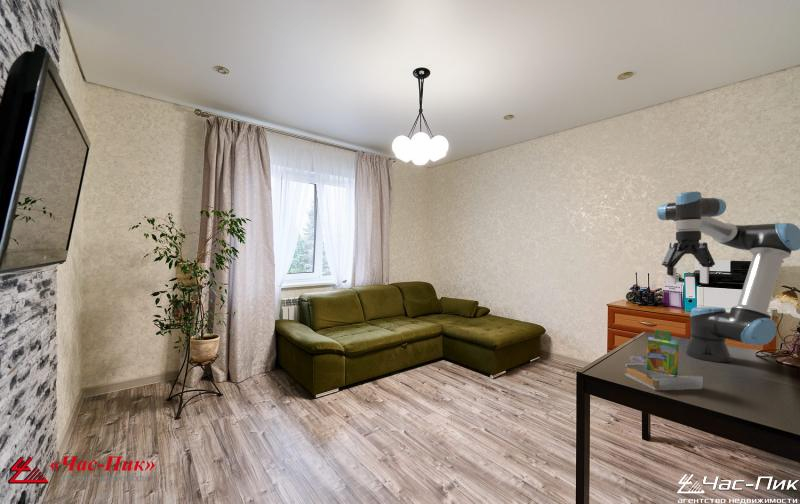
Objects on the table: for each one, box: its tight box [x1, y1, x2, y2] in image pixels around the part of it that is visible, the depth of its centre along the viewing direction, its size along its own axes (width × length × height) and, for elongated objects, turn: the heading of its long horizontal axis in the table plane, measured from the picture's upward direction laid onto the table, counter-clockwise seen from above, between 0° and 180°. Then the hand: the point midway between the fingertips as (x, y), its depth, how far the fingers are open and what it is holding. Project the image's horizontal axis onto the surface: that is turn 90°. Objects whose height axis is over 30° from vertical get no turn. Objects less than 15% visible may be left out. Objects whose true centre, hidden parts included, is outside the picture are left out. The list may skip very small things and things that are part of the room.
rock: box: [629, 354, 647, 364], centre depth 134 cm, size 8×11×5 cm
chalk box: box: [646, 329, 680, 376], centre depth 120 cm, size 9×9×15 cm
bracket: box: [624, 363, 704, 391], centre depth 120 cm, size 18×14×4 cm
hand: (688, 283), depth 127 cm, fingers open, 13 cm apart
